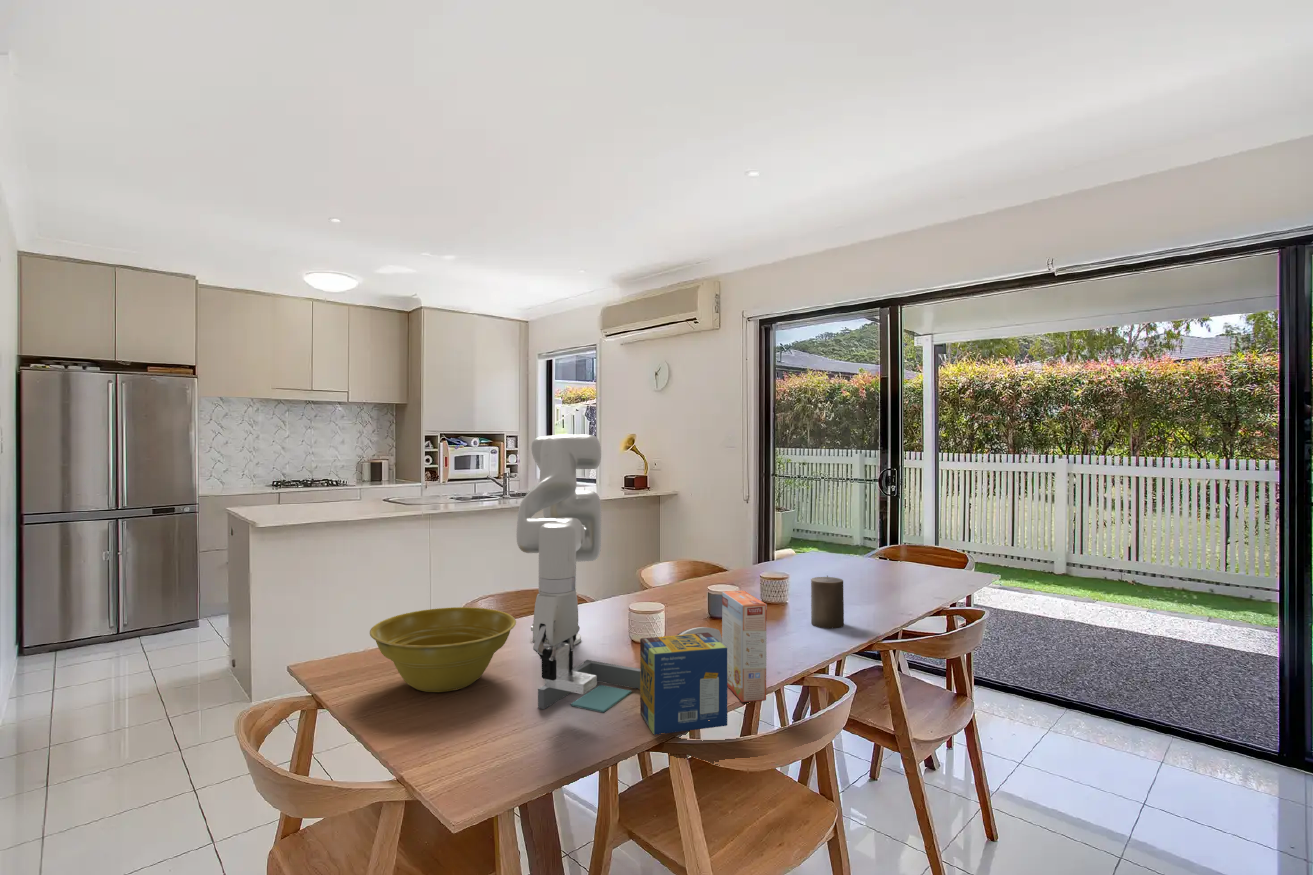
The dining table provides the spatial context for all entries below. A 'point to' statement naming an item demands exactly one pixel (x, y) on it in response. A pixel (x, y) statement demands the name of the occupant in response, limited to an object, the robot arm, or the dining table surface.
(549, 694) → the corner walls
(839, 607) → the pillar candle
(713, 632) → the white black slab
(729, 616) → the cracker box
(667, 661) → the protein box
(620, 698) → the mat
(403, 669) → the planter bowl
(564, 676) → the grey l-shaped block
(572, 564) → the robot arm
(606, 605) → the dining table surface
